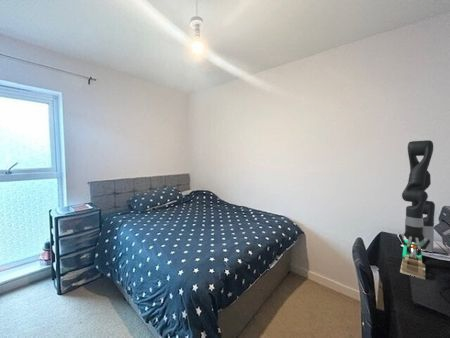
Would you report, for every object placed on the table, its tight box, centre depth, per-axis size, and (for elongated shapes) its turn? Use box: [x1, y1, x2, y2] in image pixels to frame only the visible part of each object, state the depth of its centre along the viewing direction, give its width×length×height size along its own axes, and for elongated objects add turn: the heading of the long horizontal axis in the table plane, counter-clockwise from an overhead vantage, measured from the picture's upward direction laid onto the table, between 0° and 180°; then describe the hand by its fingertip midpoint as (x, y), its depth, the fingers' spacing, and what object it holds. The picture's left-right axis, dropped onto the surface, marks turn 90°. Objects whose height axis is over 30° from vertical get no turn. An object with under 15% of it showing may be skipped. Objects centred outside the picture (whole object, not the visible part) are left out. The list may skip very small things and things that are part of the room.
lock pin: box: [410, 243, 418, 260], centre depth 115 cm, size 3×3×10 cm
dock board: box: [399, 255, 426, 280], centre depth 111 cm, size 18×10×5 cm, turn 135°
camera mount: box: [402, 239, 423, 259], centre depth 124 cm, size 12×8×10 cm, turn 130°
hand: (413, 253), depth 115 cm, fingers closed on lock pin, 3 cm apart
